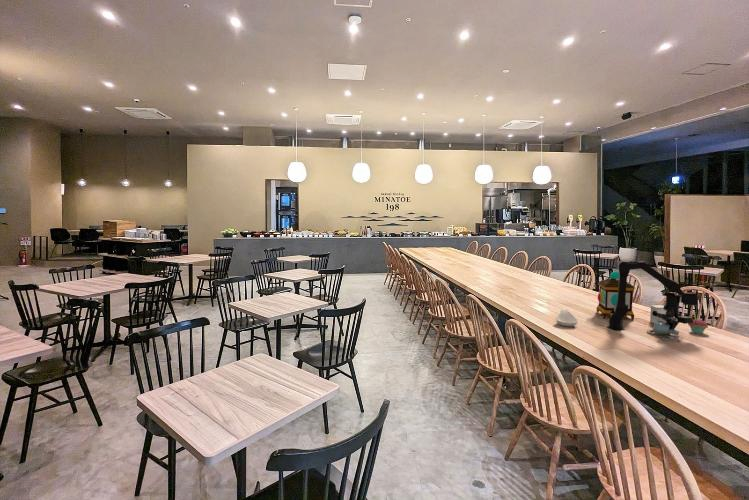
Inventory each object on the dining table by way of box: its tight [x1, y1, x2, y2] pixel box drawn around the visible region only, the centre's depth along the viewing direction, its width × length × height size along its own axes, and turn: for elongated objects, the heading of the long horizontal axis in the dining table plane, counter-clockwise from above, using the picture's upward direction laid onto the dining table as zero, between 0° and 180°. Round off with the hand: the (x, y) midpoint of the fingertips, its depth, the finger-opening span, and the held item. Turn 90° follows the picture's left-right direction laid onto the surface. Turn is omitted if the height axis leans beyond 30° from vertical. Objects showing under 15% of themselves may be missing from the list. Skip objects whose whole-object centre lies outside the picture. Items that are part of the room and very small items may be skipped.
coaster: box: [658, 336, 680, 343], centre depth 205 cm, size 9×9×1 cm
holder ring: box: [646, 329, 671, 337], centre depth 215 cm, size 10×10×1 cm
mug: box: [651, 321, 680, 336], centre depth 213 cm, size 11×7×6 cm, turn 68°
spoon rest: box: [555, 308, 579, 328], centre depth 239 cm, size 24×12×7 cm, turn 161°
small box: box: [649, 304, 666, 325], centre depth 235 cm, size 8×6×10 cm
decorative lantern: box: [596, 270, 636, 321], centre depth 252 cm, size 20×20×30 cm
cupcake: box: [687, 311, 709, 334], centre depth 216 cm, size 9×8×12 cm
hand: (671, 331), depth 214 cm, fingers closed, pressing on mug
